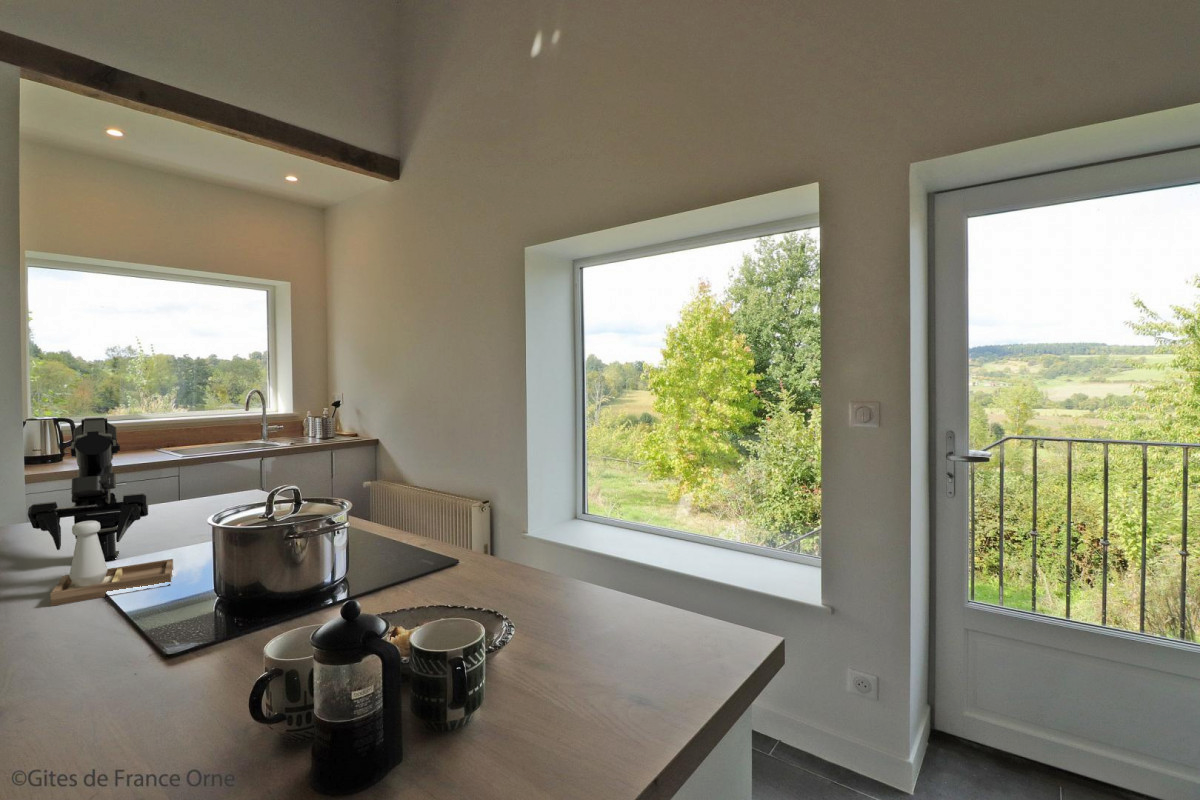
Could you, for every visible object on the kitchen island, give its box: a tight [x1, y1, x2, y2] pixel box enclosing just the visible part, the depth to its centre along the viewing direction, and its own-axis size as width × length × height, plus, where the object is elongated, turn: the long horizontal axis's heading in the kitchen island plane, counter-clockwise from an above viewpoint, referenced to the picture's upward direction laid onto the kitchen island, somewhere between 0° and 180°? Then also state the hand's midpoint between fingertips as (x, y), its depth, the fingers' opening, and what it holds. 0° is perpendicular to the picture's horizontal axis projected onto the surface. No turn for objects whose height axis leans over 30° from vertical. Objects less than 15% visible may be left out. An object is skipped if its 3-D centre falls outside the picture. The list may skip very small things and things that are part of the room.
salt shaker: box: [68, 521, 109, 588], centre depth 116 cm, size 6×6×13 cm
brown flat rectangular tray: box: [50, 558, 174, 607], centre depth 119 cm, size 12×18×2 cm, turn 125°
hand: (88, 545), depth 117 cm, fingers open, 9 cm apart
